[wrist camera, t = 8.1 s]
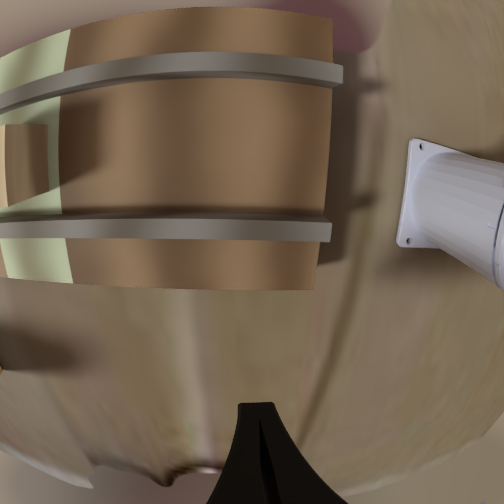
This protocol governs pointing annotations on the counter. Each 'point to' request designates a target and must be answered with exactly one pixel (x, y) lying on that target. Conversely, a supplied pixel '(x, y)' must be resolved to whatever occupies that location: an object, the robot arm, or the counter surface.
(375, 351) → the counter surface
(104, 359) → the counter surface
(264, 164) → the lane deck
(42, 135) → the birch block
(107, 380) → the counter surface
